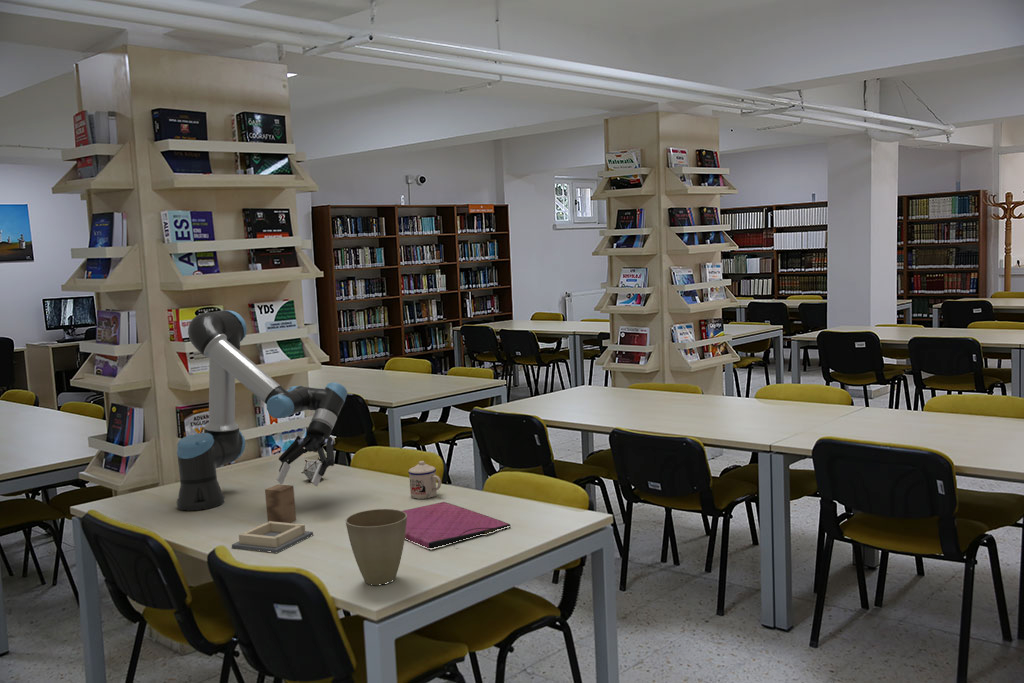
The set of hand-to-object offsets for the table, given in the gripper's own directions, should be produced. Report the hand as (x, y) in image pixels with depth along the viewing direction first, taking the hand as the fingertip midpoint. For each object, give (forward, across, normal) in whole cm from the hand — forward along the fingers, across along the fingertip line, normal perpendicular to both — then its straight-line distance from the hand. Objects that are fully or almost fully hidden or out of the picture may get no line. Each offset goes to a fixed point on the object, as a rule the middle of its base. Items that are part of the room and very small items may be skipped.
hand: (296, 483), depth 275 cm
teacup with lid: (-13, -29, -29) cm, 43 cm away
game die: (-20, +24, -36) cm, 48 cm away
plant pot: (+36, -56, +21) cm, 70 cm away
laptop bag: (+7, -50, -10) cm, 51 cm away
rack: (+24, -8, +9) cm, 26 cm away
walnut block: (+12, +2, -3) cm, 13 cm away
